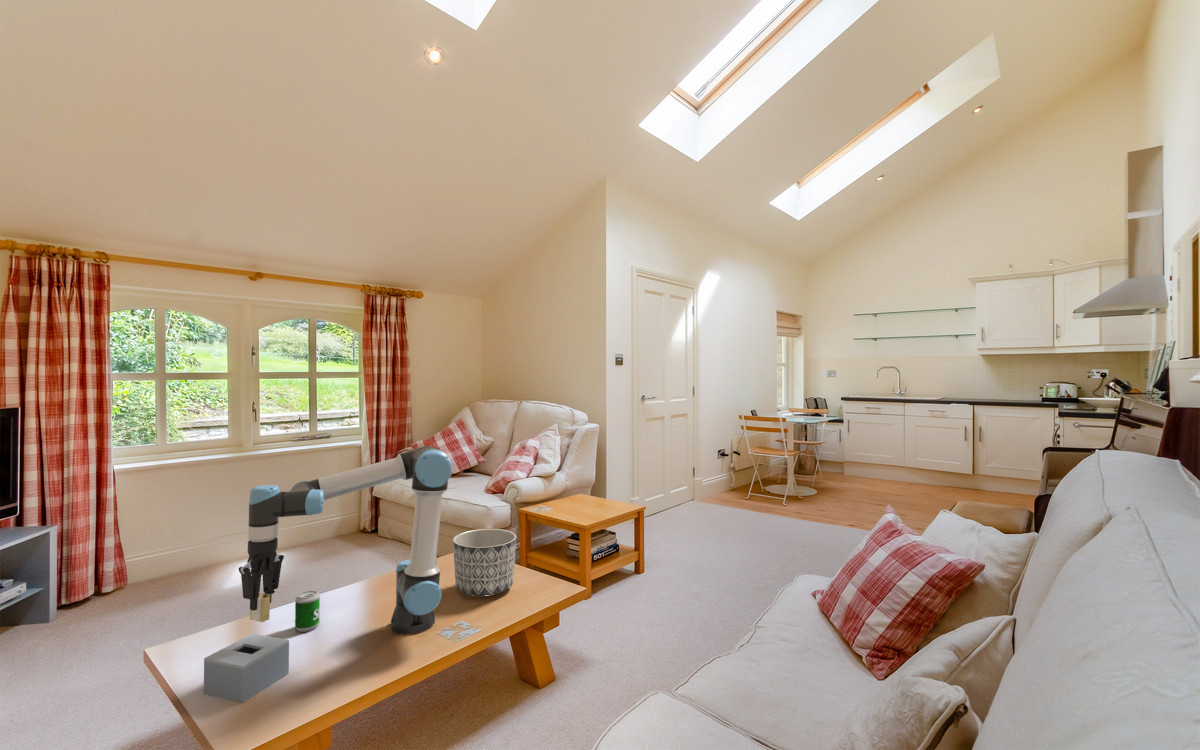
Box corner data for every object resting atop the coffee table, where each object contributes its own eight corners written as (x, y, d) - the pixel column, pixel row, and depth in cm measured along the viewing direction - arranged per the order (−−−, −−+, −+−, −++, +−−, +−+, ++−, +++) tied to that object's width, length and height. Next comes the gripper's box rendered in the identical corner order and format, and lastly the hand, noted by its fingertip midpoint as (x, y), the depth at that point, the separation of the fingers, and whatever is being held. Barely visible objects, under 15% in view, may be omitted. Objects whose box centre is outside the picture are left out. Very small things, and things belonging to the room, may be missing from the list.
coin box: (288, 673, 159) (289, 640, 159) (242, 703, 144) (242, 666, 144) (252, 666, 163) (252, 633, 163) (203, 694, 148) (204, 658, 148)
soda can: (308, 634, 183) (309, 599, 183) (289, 632, 184) (290, 597, 184) (324, 624, 190) (324, 590, 190) (305, 622, 192) (306, 589, 192)
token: (269, 619, 158) (270, 595, 158) (262, 622, 156) (263, 598, 156) (256, 616, 159) (257, 593, 159) (249, 619, 157) (250, 595, 157)
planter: (467, 576, 237) (467, 527, 237) (523, 579, 234) (523, 530, 234) (441, 600, 211) (442, 545, 211) (504, 605, 208) (505, 549, 208)
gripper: (275, 530, 166) (273, 605, 166) (228, 544, 151) (225, 627, 151) (294, 533, 164) (292, 609, 163) (248, 547, 149) (245, 631, 149)
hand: (260, 617), depth 157 cm, fingers closed on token, 2 cm apart
